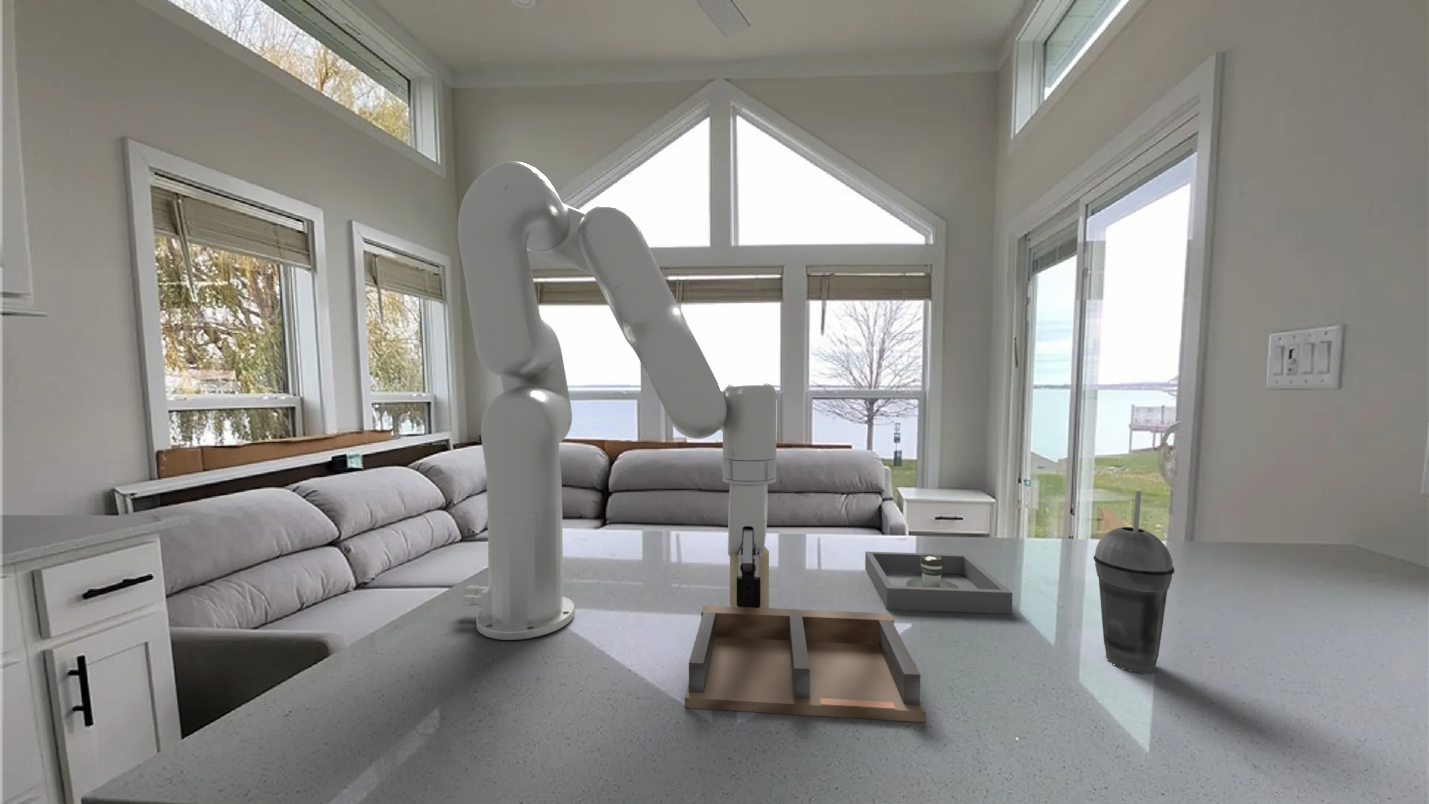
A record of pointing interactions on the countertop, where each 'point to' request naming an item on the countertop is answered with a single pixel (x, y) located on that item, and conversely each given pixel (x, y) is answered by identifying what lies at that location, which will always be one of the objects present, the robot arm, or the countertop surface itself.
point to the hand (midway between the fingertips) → (749, 596)
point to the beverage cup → (1133, 594)
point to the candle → (762, 572)
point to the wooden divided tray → (803, 664)
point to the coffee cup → (931, 573)
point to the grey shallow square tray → (979, 600)
